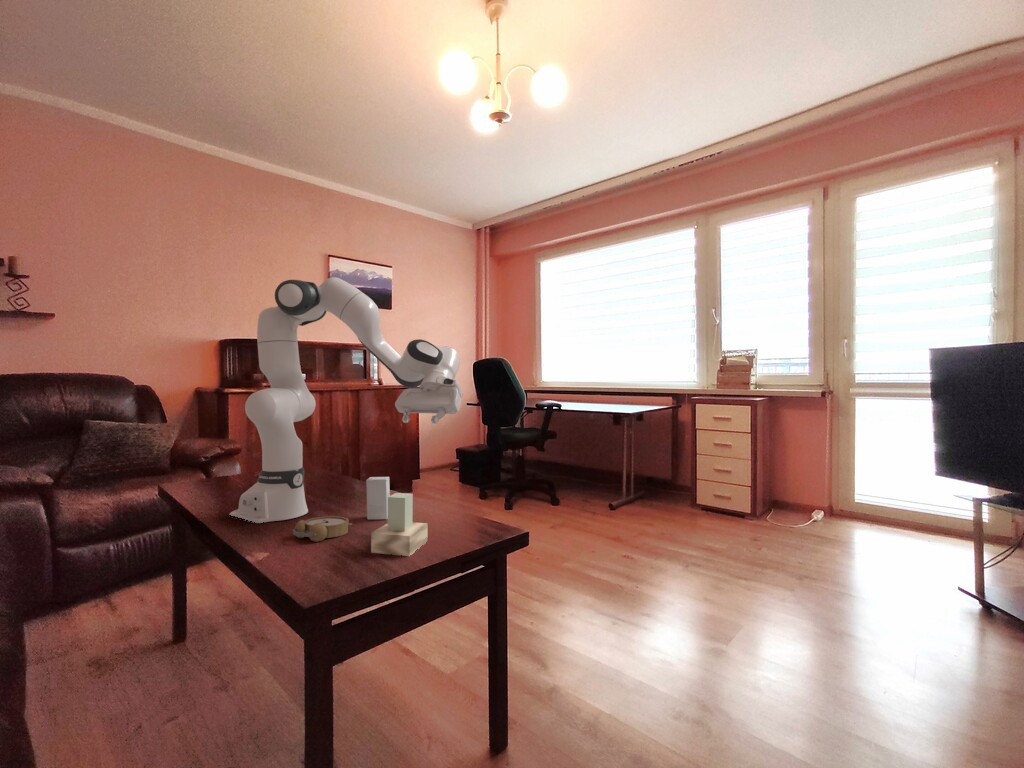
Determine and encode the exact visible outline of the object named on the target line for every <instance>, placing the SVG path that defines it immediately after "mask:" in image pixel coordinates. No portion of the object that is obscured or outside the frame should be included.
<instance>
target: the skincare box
mask: <svg viewBox="0 0 1024 768" xmlns="http://www.w3.org/2000/svg"><path fill="white" fill-rule="evenodd" d="M365 481H366V482H365V483H366V484H365V485H366V519H367V520H370V521H371V520H388V497H389V496H391V494H390V493H391V492H390V491H391V490H390V487H391V486H390V476H370V477H368V478H367V479H366V480H365Z"/></svg>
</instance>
